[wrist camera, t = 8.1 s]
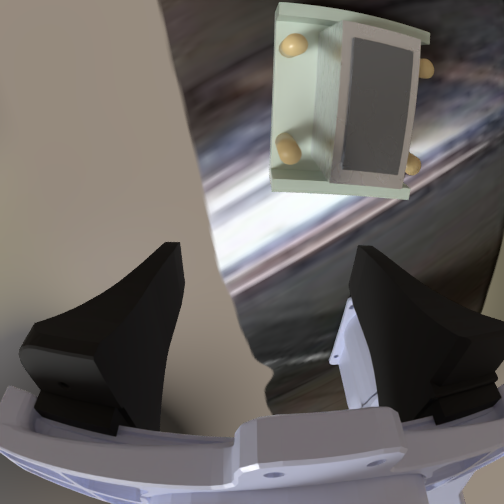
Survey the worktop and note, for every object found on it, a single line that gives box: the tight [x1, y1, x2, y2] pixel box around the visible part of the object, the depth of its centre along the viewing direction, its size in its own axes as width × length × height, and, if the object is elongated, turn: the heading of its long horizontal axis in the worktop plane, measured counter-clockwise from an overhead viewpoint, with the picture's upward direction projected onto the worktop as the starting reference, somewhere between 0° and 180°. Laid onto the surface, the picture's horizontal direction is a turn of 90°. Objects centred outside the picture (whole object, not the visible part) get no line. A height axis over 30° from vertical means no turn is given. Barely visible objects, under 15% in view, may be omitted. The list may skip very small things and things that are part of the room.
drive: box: [310, 20, 421, 189], centre depth 14 cm, size 8×4×5 cm, turn 178°
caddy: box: [269, 2, 434, 200], centre depth 16 cm, size 11×9×4 cm
